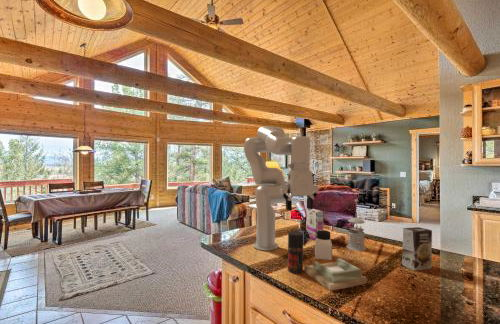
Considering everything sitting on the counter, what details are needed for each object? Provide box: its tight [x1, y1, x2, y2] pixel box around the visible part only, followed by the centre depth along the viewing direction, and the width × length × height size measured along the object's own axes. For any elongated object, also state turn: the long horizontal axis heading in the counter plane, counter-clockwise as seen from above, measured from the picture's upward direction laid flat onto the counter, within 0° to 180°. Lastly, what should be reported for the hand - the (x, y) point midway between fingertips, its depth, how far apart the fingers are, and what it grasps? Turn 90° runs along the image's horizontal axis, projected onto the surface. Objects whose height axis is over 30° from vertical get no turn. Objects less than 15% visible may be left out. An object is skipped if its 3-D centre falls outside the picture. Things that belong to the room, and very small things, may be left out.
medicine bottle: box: [314, 229, 333, 261], centre depth 117 cm, size 7×7×12 cm
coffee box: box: [401, 226, 433, 271], centre depth 107 cm, size 9×6×16 cm
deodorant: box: [287, 230, 304, 275], centre depth 102 cm, size 6×6×15 cm
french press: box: [345, 199, 367, 252], centre depth 130 cm, size 10×12×25 cm
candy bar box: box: [305, 208, 325, 241], centre depth 146 cm, size 11×5×16 cm, turn 17°
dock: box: [303, 257, 368, 292], centre depth 96 cm, size 16×16×5 cm
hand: (299, 209), depth 102 cm, fingers open, 9 cm apart
